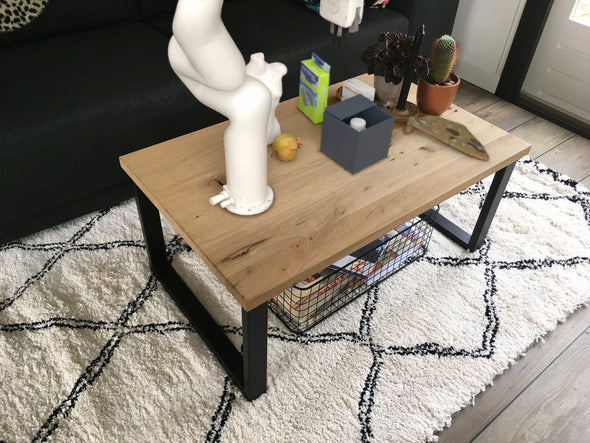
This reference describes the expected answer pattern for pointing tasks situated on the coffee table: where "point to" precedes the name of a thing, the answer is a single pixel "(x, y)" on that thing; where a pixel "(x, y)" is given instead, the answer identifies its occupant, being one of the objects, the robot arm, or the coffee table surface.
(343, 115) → the flap
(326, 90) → the box
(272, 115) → the torso sculpture
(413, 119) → the decorative stone
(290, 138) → the fruit
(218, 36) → the robot arm
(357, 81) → the ink box
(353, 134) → the carton
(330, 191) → the coffee table surface
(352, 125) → the pill bottle
